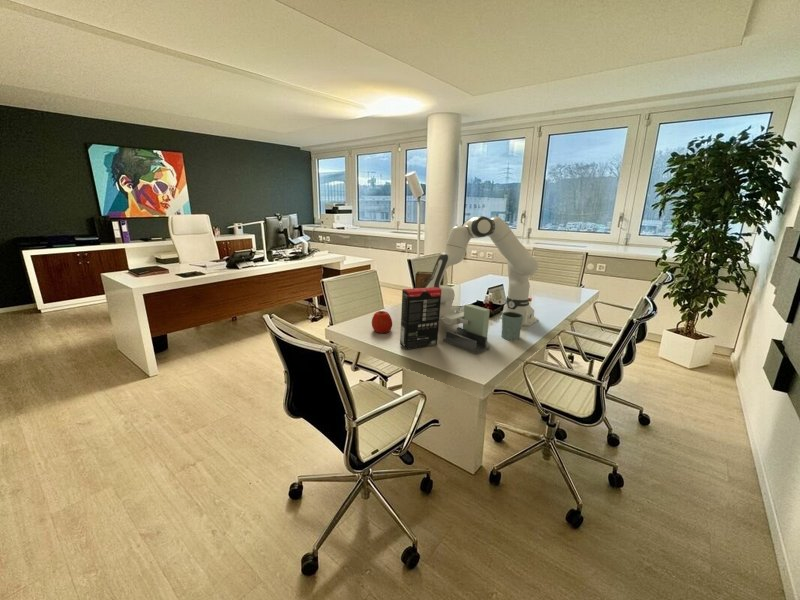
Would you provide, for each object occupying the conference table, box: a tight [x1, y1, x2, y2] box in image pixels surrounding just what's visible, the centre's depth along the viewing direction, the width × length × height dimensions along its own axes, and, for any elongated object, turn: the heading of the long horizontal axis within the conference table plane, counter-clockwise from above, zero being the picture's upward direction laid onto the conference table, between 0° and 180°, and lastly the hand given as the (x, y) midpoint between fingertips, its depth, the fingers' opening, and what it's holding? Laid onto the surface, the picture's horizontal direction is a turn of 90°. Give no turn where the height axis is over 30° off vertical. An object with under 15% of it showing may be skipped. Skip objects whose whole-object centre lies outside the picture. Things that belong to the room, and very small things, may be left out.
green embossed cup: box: [501, 312, 523, 341], centre depth 170 cm, size 10×10×12 cm
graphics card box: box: [399, 287, 441, 350], centre depth 155 cm, size 17×7×27 cm, turn 114°
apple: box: [371, 310, 393, 334], centre depth 175 cm, size 11×11×11 cm
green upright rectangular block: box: [462, 303, 491, 338], centre depth 167 cm, size 4×12×16 cm, turn 40°
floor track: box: [442, 326, 490, 355], centre depth 159 cm, size 9×20×6 cm, turn 40°
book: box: [414, 271, 445, 289], centre depth 203 cm, size 16×6×25 cm, turn 80°
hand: (473, 321), depth 168 cm, fingers open, 5 cm apart
